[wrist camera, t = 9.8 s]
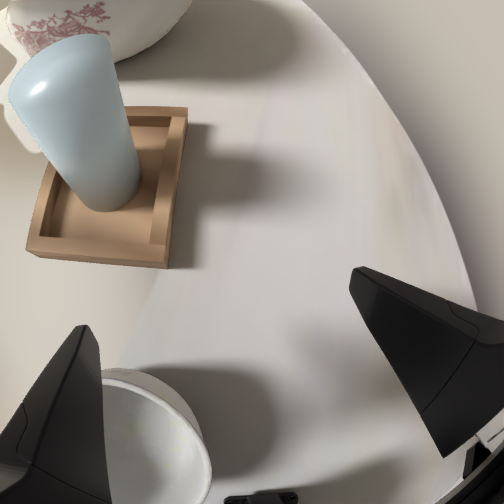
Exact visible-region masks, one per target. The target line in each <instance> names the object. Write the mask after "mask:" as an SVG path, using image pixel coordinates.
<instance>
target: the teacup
mask: <svg viewBox="0 0 504 504" xmlns="http://www.w3.org/2000/svg"><path fill="white" fill-rule="evenodd" d="M101 376H102V387H103V418H104V437H105V450H106V461H107V470H108V478H109V485H110V492H111V498H112V504H202V503H203V502H204V501H205V499H206V497H207V495H208V492H209V490H210V487H211V482H212V465H211V460H210V456H209V453H208V450H207V448H206V446H205V443H204V441H203V437H202V433H201V430H200V427H199V424H198V422H197V420H196V417H195V415H194V414H193V412H192V410H191V408H190V407H189V406H188V404H187V403H186V402H185V400H184V399H183V398H182V397H181V396H180V395H179V394H178V393H177V392H176V391H175V390H174V389H172V388H171V387H170V386H169V385H167V384H166V383H164V382H163V381H161V380H159V379H157V378H156V377H153V376H151V375H149V374H146V373H143V372H140V371H136V370H131V369H122V368H112V369H105V370H101Z"/></svg>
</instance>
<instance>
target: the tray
mask: <svg viewBox="0 0 504 504" xmlns="http://www.w3.org/2000/svg"><path fill="white" fill-rule="evenodd" d="M124 108H125V112H126V116H127V119H128V123H129V127H130V130H131V134H132V138H133V141H134V145H135V148H136V151H137V155H138V158H139V161H140V165H141V168H142V182H141V185H140V188H139V190H138V192H137V193H136V195H135V196H134V197H133V199H132V200H131V201H130V202H128V203H127V204H126V205H124V206H123V207H121V208H119V209H117V210H114V211H111V212H96V211H93V210H91V209H89V208H88V207H86V206H85V205H84V204H83V203H82V201H81V200H80V199H79V198H78V196H77V195H76V194H75V193H74V192H73V190H72V189H71V188H70V187H69V185H68V184H67V183H66V182H65V180H64V179H63V178H62V176H61V175H60V174H59V173H58V171H57V170H56V169H55V167H54V166H53V165H52V163H51V162H50V161H49V162H48V165H47V168H46V171H45V174H44V177H43V180H42V184H41V187H40V190H39V193H38V197H37V201H36V204H35V208H34V212H33V216H32V220H31V225H30V229H29V234H28V239H27V244H26V249H25V250H26V251H28V252H30V253H32V254H34V255H36V256H38V257H40V258H48V259H59V260H68V261H79V262H90V263H101V264H111V265H123V266H135V267H147V268H160V269H168V259H169V249H170V239H171V230H172V222H173V214H174V206H175V198H176V191H177V184H178V178H179V171H180V165H181V159H182V153H183V147H184V142H185V136H186V131H187V125H188V108H186V107H160V106H124Z"/></svg>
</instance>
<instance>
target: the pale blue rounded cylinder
mask: <svg viewBox="0 0 504 504" xmlns="http://www.w3.org/2000/svg"><path fill="white" fill-rule="evenodd" d="M8 100H9V103H10V104H11V106H12V107H13V109H14V110H15V112H16V114H17V115H18V117H19V118H20V120H21V121H22V123H23V124H24V126H25V127H26V129H27V130H28V131H29V133H30V134H31V136H32V137H33V139H34V140H35V142H36V143H37V144H38V146H39V147H40V148H41V150H42V151H43V153H44V154H45V155H46V157H47V158H48V159H49V161H50V162H51V163H52V165H53V166H54V167H55V169H56V170H57V171H58V173H59V174H60V175H61V176H62V178H63V179H64V180H65V182H66V183H67V184H68V185H69V187H70V188H71V189H72V190H73V192H74V193H75V194H76V195H77V196H78V198H79V199H80V200H81V201H82V203H83V204H84V205H85V206H86V207H88V208H89V209H91V210H93V211H96V212H111V211H114V210H117V209H119V208H121V207H123V206H124V205H126V204H127V203H128V202H130V201H131V200H132V199H133V197H134V196H135V195H136V193H137V192H138V190H139V188H140V185H141V182H142V168H141V165H140V161H139V158H138V155H137V151H136V148H135V145H134V141H133V138H132V134H131V130H130V127H129V123H128V119H127V116H126V112H125V108H124V104H123V100H122V96H121V92H120V88H119V83H118V79H117V75H116V70H115V66H114V61H113V56H112V51H111V46H110V43H109V41H108V40H107V39H106V38H105V37H103V36H101V35H98V34H80V35H75V36H71V37H68V38H65V39H62V40H60V41H57V42H55V43H53V44H51V45H50V46H48V47H46V48H45V49H43V50H41V51H40V52H39V53H37V54H36V55H35V56H33V57H32V58H31V59H30V60H29V61H28V62H27V63H26V64H25V65H24V66H23V67H22V68H21V69H20V70H19V72H18V73H17V74H16V76H15V77H14V79H13V81H12V83H11V85H10V88H9V92H8Z"/></svg>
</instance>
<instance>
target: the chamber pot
mask: <svg viewBox="0 0 504 504" xmlns="http://www.w3.org/2000/svg"><path fill="white" fill-rule="evenodd" d="M192 1H193V0H9V4H8V8H7V13H6V17H5V21H6V23H7V26H8V29H9V31H10V33H11V35H12V36H13V37H14V39H15V40H16V41H17V42H18V44H19V45H20V46H21V47H22V49H23V50H24V51H25V52H26V53H27V54H28V55H29V56H30V57H31V58H32V57H33V56H35V55H36V54H37V53H39V52H40V51H41V50H43V49H45V48H46V47H48V46H50V45H51V44H53V43H55V42H57V41H60V40H62V39H65V38H68V37H71V36H75V35H80V34H98V35H101V36H103V37H105V38H106V39H107V40H108V41H109V43H110V46H111V51H112V56H113V61H114V63H116V62H118V61H121V60H123V59H126V58H129V57H131V56H134V55H136V54H138V53H139V52H141V51H143V50H145V49H147V48H149V47H151V46H152V45H153V44H155V43H156V42H157V41H158V40H160V39H161V38H162V37H163V36H164V35H166V34H167V33H168V32H170V30H171V29H172V28H173V26H174V25H175V24H176V23H177V21H178V20H179V19H180V18H181V17H182V15H183V14H184V13H185V12H186V11H187V9H188V8H189V6H190V4H191V3H192Z"/></svg>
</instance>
